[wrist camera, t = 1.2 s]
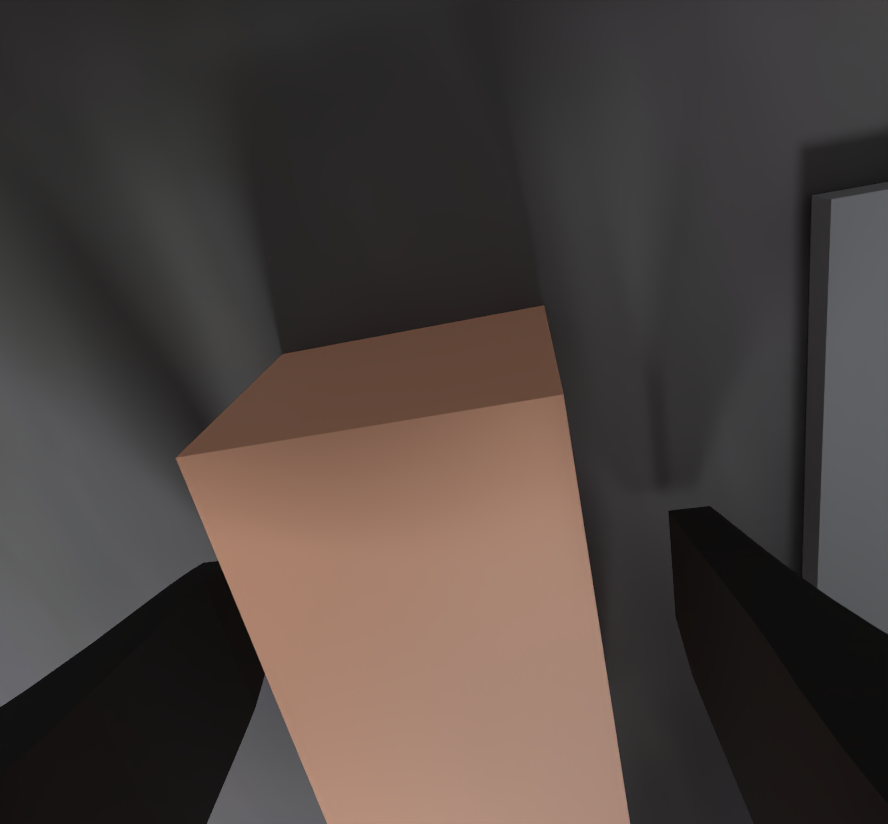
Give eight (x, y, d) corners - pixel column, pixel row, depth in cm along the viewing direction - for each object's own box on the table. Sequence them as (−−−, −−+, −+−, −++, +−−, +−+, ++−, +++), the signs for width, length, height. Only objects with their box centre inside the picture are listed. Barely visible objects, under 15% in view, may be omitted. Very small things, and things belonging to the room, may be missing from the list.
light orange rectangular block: (603, 679, 13) (639, 887, 10) (397, 698, 14) (357, 897, 10) (543, 302, 10) (563, 394, 7) (286, 350, 11) (175, 457, 7)
